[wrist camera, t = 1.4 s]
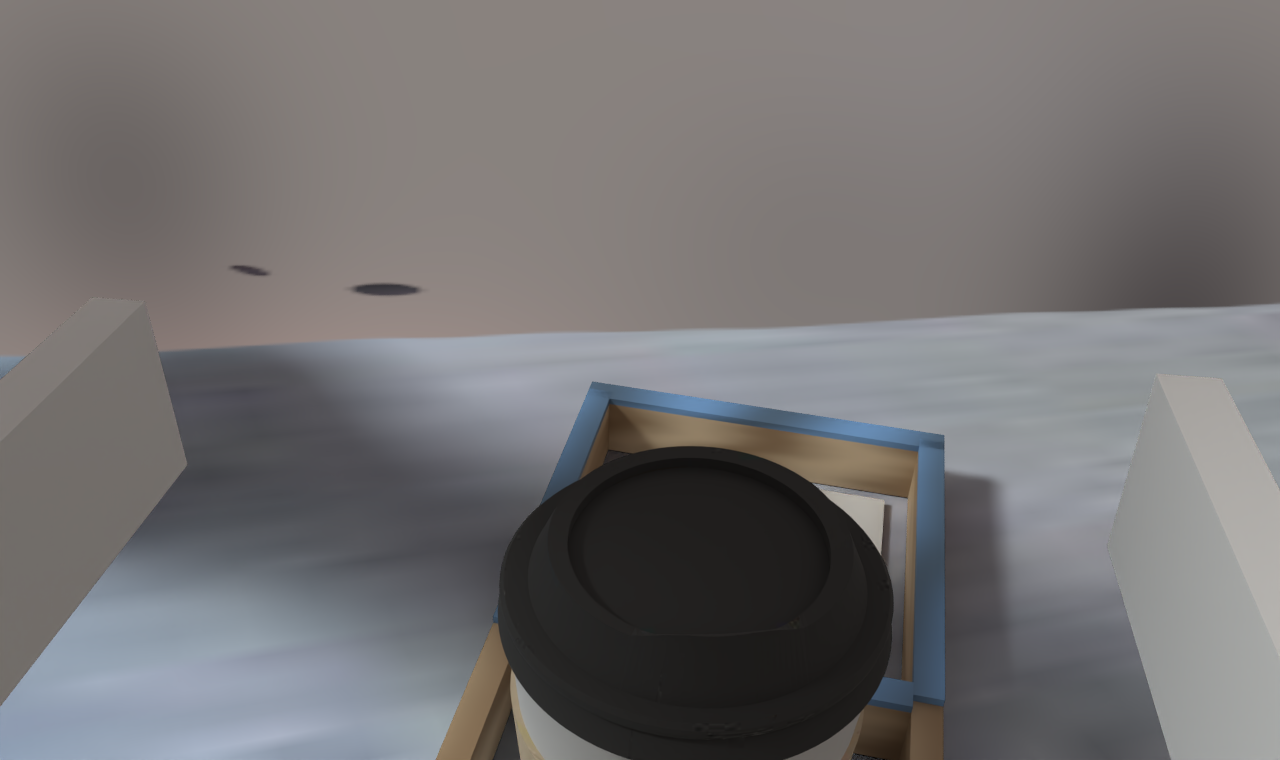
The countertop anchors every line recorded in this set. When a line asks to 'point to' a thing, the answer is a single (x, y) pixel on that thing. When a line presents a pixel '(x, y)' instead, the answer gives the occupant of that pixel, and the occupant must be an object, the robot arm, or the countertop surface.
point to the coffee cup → (692, 614)
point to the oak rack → (826, 454)
